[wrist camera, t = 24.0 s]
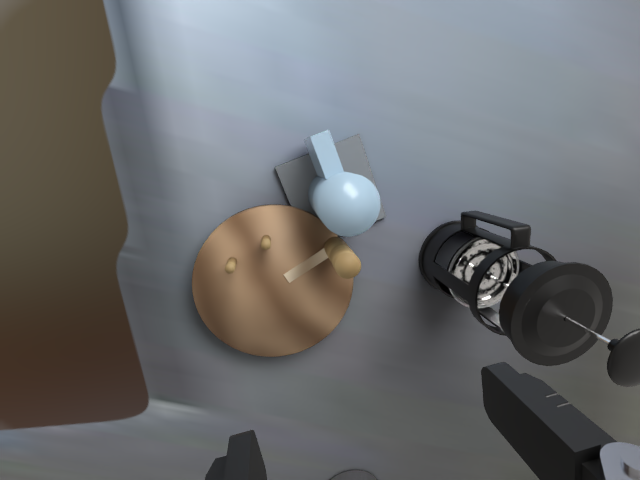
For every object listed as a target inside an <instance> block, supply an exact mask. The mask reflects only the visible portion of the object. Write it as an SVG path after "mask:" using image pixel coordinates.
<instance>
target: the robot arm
mask: <svg viewBox="0 0 640 480" xmlns="http://www.w3.org/2000/svg"><path fill="white" fill-rule="evenodd" d="M481 375H482V388H483V401H484V407H485V410H486V413H487V415H488V417H489V419H490V420H491V422H492V423H493V424H494V426H495V427H496V428H497V429H498V430H499V432H500V433H501V434H502V435H503V436H504V438H505V439H506V440H507V441H508V442H509V443H510V445H511V446H512V447H513V448H514V449H515V451H516V452H517V453H518V454H519V455H520V457H521V458H522V459H523V460H524V461H525V463H526V464H527V465H528V466H529V467H530V468H531V470H532V471H533V472H534V473H535V474H536V476H537V477H538V478H539V479H540V480H640V447H639V446H636V445H633V444H629V443H623V442H617V441H616V440H614V439H613V438H612V437H611V436H609V435H608V434H607V433H606V432H605V431H603V430H602V429H601V428H600V427H598V426H597V425H596V424H595V423H594V422H592V421H591V420H590V419H589V418H587V417H586V416H585V415H584V414H583V413H581V412H580V411H579V410H578V409H576V408H575V407H574V406H573V405H572V404H569V403H568V401H567V400H565V399H564V398H563V397H562V396H560V395H558V394H557V392H556V391H554V390H553V389H552V388H551V387H549V386H548V385H547V384H546V383H545V382H543V381H542V380H539V379H537V378H535V377H533V376H531V375H529V374H527V373H523V374H519V373H518V372H517V371H516V370H514V369H513V368H512V367H511V366H510V365H509V364H507V363H506V362H501V363H497V364H493V365H490V366H486V367H483V368H482V370H481ZM205 480H267V475H266V469H265V465H264V462H263V458H262V455H261V452H260V448H259V445H258V442H257V438H256V435H255V432H254V430H250V431H247V432H243V433H239V434H236V435H232V436H230V438H229V443H228V450H227V456H224V457H220V458H217V459H215V460H214V462H213V464H212V466H211V467H210V469H209V471H208V473H207V474H206V477H205ZM331 480H377V479H376V478H375V476H373V475H372V474H370V473H368V472H366V471H361V470H351V471H346V472H343V473H340V474H338V475H337V476H335V477H333V478H332V479H331Z"/></svg>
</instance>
